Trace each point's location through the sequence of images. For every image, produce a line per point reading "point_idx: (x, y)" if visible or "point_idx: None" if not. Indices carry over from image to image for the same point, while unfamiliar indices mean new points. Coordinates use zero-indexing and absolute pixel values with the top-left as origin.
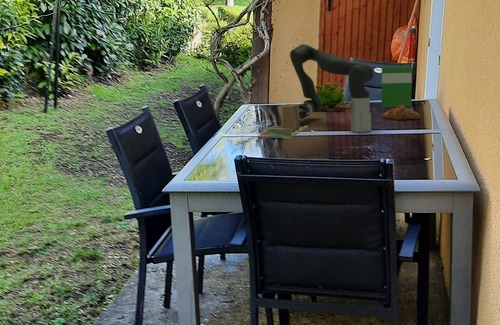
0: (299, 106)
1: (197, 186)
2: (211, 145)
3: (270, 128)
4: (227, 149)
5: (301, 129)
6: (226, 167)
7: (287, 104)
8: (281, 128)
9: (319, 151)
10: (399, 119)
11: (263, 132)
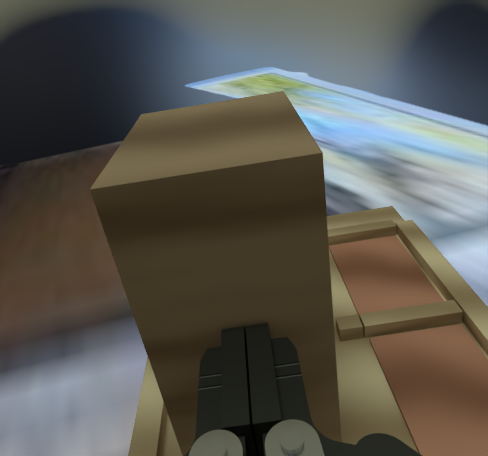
0: None
1: (233, 74)
2: (466, 124)
3: None
4: (356, 125)
5: (142, 390)
6: (244, 96)
7: (305, 141)
8: (432, 437)
9: (35, 186)
10: None
11: (406, 233)
